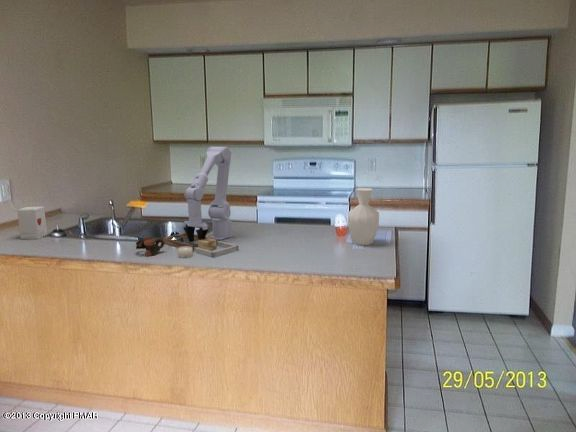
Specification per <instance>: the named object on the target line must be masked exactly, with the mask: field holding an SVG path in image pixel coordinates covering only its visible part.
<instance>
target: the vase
mask: <svg viewBox="0 0 576 432" xmlns="http://www.w3.org/2000/svg"><path fill="white" fill-rule="evenodd" d="M355 192H356V196H357V200H358V203H359V204H358V205H356V206H355V207H353V208H352V209H351V210H349V211H348V213H347V225H348V229H349V230H348V231H349V234H350V239H351V241H352V243H353V244H354V245H358V246H369V245H372V244H373V242H374V240H375V239H376V237H377V233H378V230H379V226H380V225H379V224H380V223H379V222H380V212H379V211H377V210H376V209H375V208H373V207H372V205H370V199H371V197H372V192H373V188H368V187H367V188H365V187H363V188H362V187H358V188H356V189H355Z"/></svg>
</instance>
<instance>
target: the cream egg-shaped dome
mask: <svg viewBox="0 0 576 432" xmlns="http://www.w3.org/2000/svg"><path fill="white" fill-rule="evenodd" d="M193 252H194V251H192V247H190V246H183V247H179V248H178V247H177V255H178V256H177V257H178V258H181V259H189V258H192V257H193V256H194V254H193ZM188 257H189V258H188Z"/></svg>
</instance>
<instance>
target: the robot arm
mask: <svg viewBox="0 0 576 432" xmlns="http://www.w3.org/2000/svg"><path fill="white" fill-rule="evenodd" d="M205 154H206V159H205V161H204V164H203V166H202V168H201V171H200V172H199V173H196V174H195V177H194V179H193V180H192V183H191V184H190V186H189V187H188V188H186V189H185V191H184V199H186V203H187V209H188V212H187V213H188V220H185V221H183V226H184V227H183V230H184V233H186V234H187V236H188V238H187V239H188V242H189V243H192V242H194V241H195V240H194V234H195V232H196V235H198V239H199V240H201V239H205V237H207V233H208V232H209V228H208V224H206V223H203V221H202V219H203V218H202V216H203V215H202V201H201V200H202V199H203V197H204V193H205V192H204V191H205V187H206V185H207V184H208V181H209V178H208V177H209V174H210V172H211V171H212V170H213V168H214V166H215V165H216V166H217V173H216V174H217V175H216V177H217V178H216V186H215V194H214V199H213V200H212V201H211V202H210V203H209V208H208V211H207V214H208V216H209V218H210V220H211V222H212V223H211V224H212V225H211V226H212V235H211V236H208V237H209V238H213V239H217V241H221V240H225V239H229V238H233V237H235V235H233V234H234V231H233V228H234V227H233V222H232V220H231V219H230V217H231V212H232V211H231V204H230V203H229V202H228V201H227V193H228V184H229V174H230V166H231V158H232V157H231V156H232V151H231V150H230V148H229V147H228V146H213V145H212V146H209V147H208V148H207V151H206V153H205ZM196 228H197V229H196Z"/></svg>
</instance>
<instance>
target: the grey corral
mask: <svg viewBox="0 0 576 432" xmlns="http://www.w3.org/2000/svg"><path fill="white" fill-rule="evenodd" d="M217 246H218V247H220V248H221V249H219V250H215V251H214V250H210V251H209V250H205V249H201V248H198V247H194V252H195V253H196V254H199V255H203V256H205V257H207V256H208V257H210V258H216V257H219V256H223V255H226V254H230V253H233V252H236V251H237V252H238V251H239V245H237V244H235V243H234V244H233V243H229V242H225V241H221V240H218V241H217Z"/></svg>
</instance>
